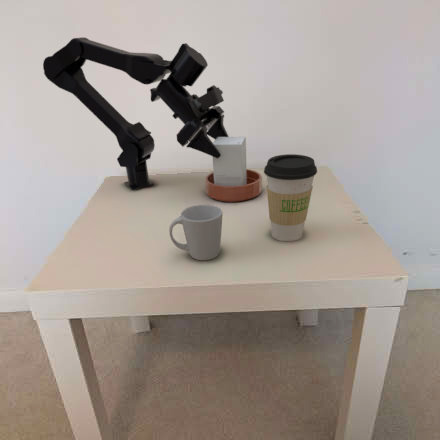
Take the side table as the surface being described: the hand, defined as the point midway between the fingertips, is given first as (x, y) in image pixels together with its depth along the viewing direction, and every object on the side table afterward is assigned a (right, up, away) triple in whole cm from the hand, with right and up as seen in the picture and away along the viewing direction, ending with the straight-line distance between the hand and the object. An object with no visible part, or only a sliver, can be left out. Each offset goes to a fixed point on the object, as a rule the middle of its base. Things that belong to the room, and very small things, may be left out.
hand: (225, 151), depth 98 cm
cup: (-5, -28, -21) cm, 35 cm away
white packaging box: (+2, -9, +5) cm, 10 cm away
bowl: (+2, -9, +5) cm, 10 cm away
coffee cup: (+12, -23, -16) cm, 30 cm away
